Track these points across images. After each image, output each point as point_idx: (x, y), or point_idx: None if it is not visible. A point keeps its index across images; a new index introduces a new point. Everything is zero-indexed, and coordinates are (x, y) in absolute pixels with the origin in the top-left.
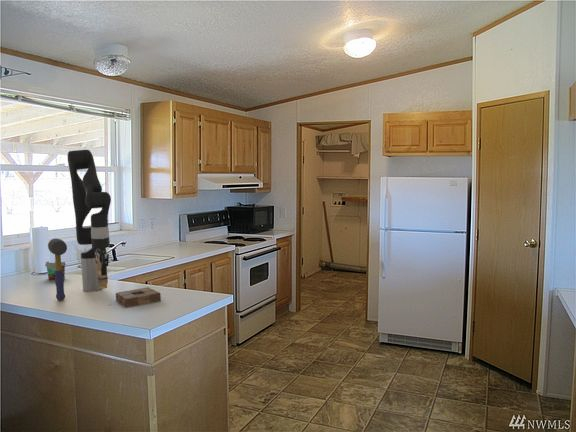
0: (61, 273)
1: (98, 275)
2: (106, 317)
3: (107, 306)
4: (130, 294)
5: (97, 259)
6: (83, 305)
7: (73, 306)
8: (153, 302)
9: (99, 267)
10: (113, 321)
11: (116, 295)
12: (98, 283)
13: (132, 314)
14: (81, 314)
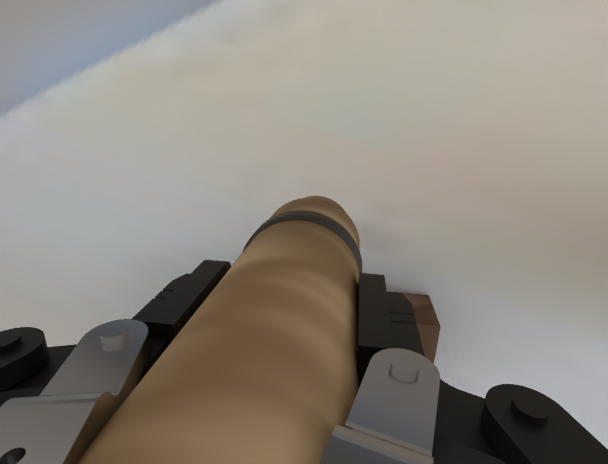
0: None
1: (277, 233)
2: (111, 120)
3: (345, 211)
4: None
5: (134, 451)
6: (509, 95)
7: (550, 20)
8: None
9: (199, 308)
10: (16, 124)
11: (422, 315)
12: (309, 200)
13: (92, 246)
14: (275, 8)
